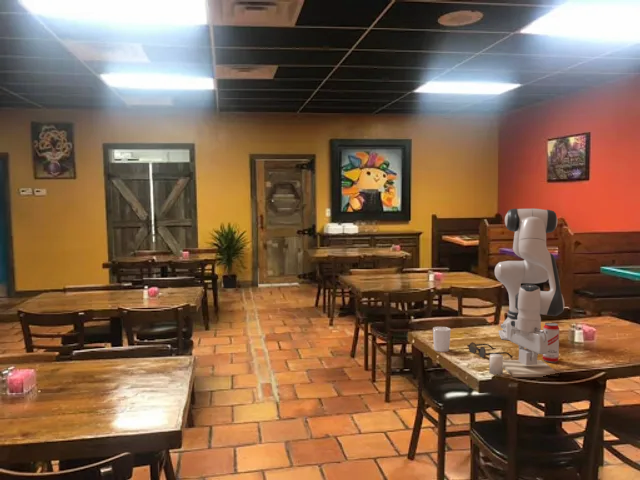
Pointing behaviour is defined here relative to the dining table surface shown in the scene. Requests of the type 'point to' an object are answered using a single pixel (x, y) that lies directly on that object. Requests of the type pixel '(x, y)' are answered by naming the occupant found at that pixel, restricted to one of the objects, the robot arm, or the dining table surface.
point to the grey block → (526, 357)
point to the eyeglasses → (482, 350)
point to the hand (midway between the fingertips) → (528, 359)
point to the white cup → (441, 338)
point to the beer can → (552, 342)
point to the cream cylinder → (496, 364)
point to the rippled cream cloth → (527, 369)
